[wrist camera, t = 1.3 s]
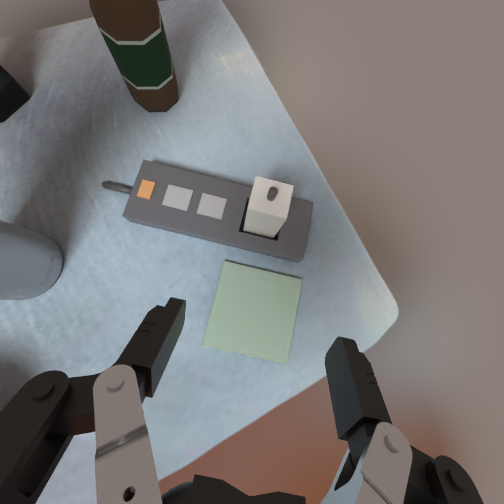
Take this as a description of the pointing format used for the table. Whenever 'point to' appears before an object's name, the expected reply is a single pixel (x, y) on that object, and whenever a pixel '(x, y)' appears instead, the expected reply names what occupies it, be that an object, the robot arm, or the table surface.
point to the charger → (267, 207)
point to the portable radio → (10, 95)
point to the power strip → (208, 210)
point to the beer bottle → (139, 50)
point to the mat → (253, 313)
